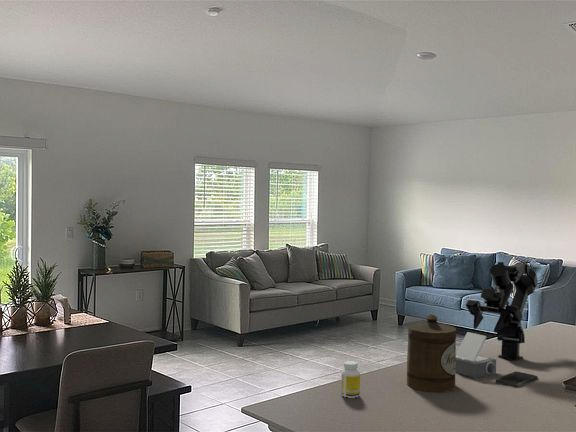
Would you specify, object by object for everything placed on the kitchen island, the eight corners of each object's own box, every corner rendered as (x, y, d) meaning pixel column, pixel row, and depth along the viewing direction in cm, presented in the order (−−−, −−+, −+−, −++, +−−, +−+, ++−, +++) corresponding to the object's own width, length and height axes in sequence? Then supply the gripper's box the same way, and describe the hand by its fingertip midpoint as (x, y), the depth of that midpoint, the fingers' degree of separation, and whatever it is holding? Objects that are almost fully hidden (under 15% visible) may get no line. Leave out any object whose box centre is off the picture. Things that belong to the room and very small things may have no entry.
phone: (538, 376, 201) (517, 385, 191) (538, 379, 201) (517, 389, 191) (515, 371, 207) (493, 379, 196) (515, 374, 207) (493, 383, 196)
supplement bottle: (363, 396, 182) (363, 363, 181) (350, 400, 178) (351, 366, 178) (350, 391, 186) (350, 359, 185) (337, 395, 182) (337, 362, 182)
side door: (468, 333, 211) (467, 331, 210) (486, 337, 205) (485, 335, 204) (455, 358, 207) (454, 357, 207) (473, 363, 201) (472, 362, 201)
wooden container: (456, 393, 184) (458, 320, 184) (406, 390, 187) (407, 318, 187) (453, 379, 199) (454, 311, 198) (406, 376, 202) (407, 309, 201)
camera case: (474, 367, 214) (475, 353, 214) (497, 373, 207) (497, 359, 207) (454, 372, 208) (454, 358, 208) (476, 378, 200) (476, 364, 200)
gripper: (468, 277, 220) (451, 311, 212) (519, 282, 206) (502, 319, 199) (479, 297, 225) (463, 331, 218) (529, 303, 212) (513, 340, 204)
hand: (484, 330), depth 210 cm, fingers open, 7 cm apart
